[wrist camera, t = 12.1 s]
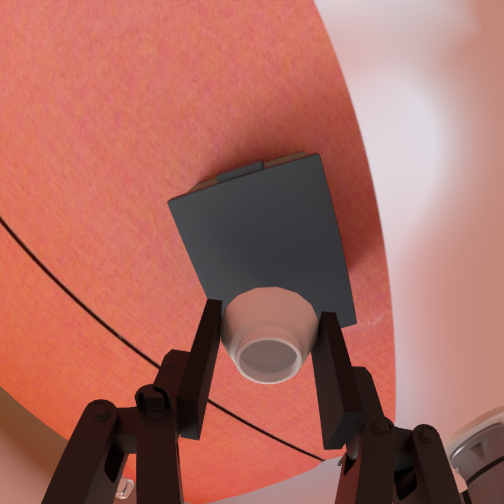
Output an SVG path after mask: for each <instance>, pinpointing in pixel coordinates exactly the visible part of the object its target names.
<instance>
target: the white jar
mask: <svg viewBox="0 0 504 504" xmlns="http://www.w3.org/2000/svg"><path fill="white" fill-rule="evenodd" d="M318 331H319V321H318V318H317V316H316V314H315V312H314V309H313V307H312V305H311V304H310V303H309V302H307V301H306V300H305V299H304V298H303V297H301V296H300V295H299V294H298V293H295V292H292V291H289V290H286V289H283V288H279V287H264V288H255V289H252V290H250V291H247V292H245V293H242V294H240V295H238V296H237V297H236V298H235V299H234V300H233V301H232V302H231V303H230V304H229V305H228V306H227V307H226V308H225V310H224V313H223V316H222V319H221V322H220V335H221V341H222V343H223V345H224V347H225V349H226V350H227V352H228V354H229V356H230V357H231V359H232V360H233V361H234V363H235V364H236V366H237V369H238V370H239V372H240V373H241V374H242V375H243V376H244V377H246V378H247V379H249V380H251V381H253V382H257V383H261V384H277V383H281V382H284V381H286V380H289V379H290V378H292V377H293V376H294V375H296V374H297V372H298V371H299V370H300V368H301V366H302V365H303V363H304V361H305V360H306V358H307V356H308V355H309V353H310V351H311V350H312V348H313V346H314V345H315V343H316V341H317V339H318Z"/></svg>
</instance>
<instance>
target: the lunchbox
mask: <svg viewBox="0 0 504 504" xmlns="http://www.w3.org/2000/svg"><path fill="white" fill-rule="evenodd" d="M167 203H168V206H169V208H170V211H171V213H172V216H173V218H174V221H175V223H176V226H177V228H178V231H179V233H180V235H181V238H182V240H183V243H184V245H185V248H186V250H187V252H188V255H189V257H190V259H191V262H192V264H193V266H194V269H195V271H196V273H197V276H198V278H199V280H200V283H201V285H202V287H203V289H204V292H205V294H206V296H207V298H208V299H215V300H222V316H223V313H224V310H225V308H226V307H227V306H228V305H229V304H230V303H231V302H232V301H233V300H234V299H235V298H236V297H237V296H238V295H240V294H242V293H245V292H247V291H250V290H252V289H255V288H264V287H279V288H283V289H286V290H289V291H292V292H295V293H298V294H299V295H300V296H301V297H303V298H304V299H305V300H306V301H307V302H309V303H310V304H311V305H312V307H313V309H314V312H315V314H316V316H317V318H318V321H319V320H320V316H321V312H322V311H326V312H336V315H337V318H338V321H339V324H340V328H344V327H347V326H351V325H354V324H357V320H356V314H355V308H354V302H353V297H352V291H351V286H350V281H349V276H348V270H347V265H346V261H345V256H344V251H343V246H342V242H341V237H340V233H339V228H338V224H337V220H336V216H335V211H334V207H333V203H332V199H331V195H330V191H329V188H328V184H327V180H326V176H325V173H324V169H323V165H322V162H321V158H320V155H319V154H318V153H314V154H310V155H308V154H307V153H306V152H304V151H303V152H299V153H296V154H292V155H288V156H285V157H281V158H278V159H275V160H271V161H268V162H264V163H263V159H259V160H256V161H252V162H249V163H246V164H243V165H240V166H237V167H233V168H230V169H227V170H224V171H221V172H220V173H219V174H218V175H217V176H216V178H214V179H211V180H208V181H205V182H203V183H200V184H197V185H195V186H194V187H193V188H191V189H190V190H189V191H188V192H187V193H185V194H182V195H179V196H177V197H174V198H171V199H170V200H169V201H168V202H167ZM222 316H221V319H222Z"/></svg>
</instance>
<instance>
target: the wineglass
mask: <svg viewBox="0 0 504 504" xmlns="http://www.w3.org/2000/svg"><path fill="white" fill-rule="evenodd" d="M127 461H128V458H127ZM127 461H126V462H127ZM135 480H136V476H135V473H134V471H133V470H132V469H131V468H130V467H129V466H128V465H126V464H125V467H124V470H123V473H122V476H121V480H120V483H119V486H118V489H117V492H116V495H115V497H117V498H121V499H126V498H127V497H128V496H129V494H130V492H131V491H132V489H133V487H134V485H135Z"/></svg>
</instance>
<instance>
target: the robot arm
mask: <svg viewBox="0 0 504 504" xmlns="http://www.w3.org/2000/svg"><path fill="white" fill-rule="evenodd" d="M221 316H222V300H215V299H207V302H206V305H205V308H204V311H203V314H202V317H201V320H200V323H199V327H198V330H197V333H196V336H195V339H194V342H193V345H192V348H191V351H190V352H186V351H180V350H174V349H172V350H171V351H170V352H168V353H167V354H166V355H165V356H164V359H163V361H162V364H161V366H160V369H159V372H158V374H157V376H156V379H155V381H154V384H148V385H145V386H143V387H141V388H140V389H139V390H138V391H137V392H136V394H135V401H136V405H137V406H136V407H130V408H116V406H115V405H114V404H113V403H112V402H110V401H108V400H103V399H99V400H94V401H92V402H91V403H89V404H88V405H87V406H86V408H85V410H84V412H83V414H82V416H81V418H80V420H79V422H78V424H77V426H76V428H75V430H74V432H73V434H72V436H71V438H70V440H69V442H68V444H67V446H66V448H65V451H64V453H63V455H62V457H61V459H60V461H59V463H58V466H57V468H56V470H55V472H54V475H53V477H52V479H51V482H50V484H49V486H48V488H47V491H46V493H45V496H44V498H43V501H42V503H41V504H113V502H114V499H115V495H116V492H117V489H118V486H119V483H120V480H121V476H122V473H123V470H124V467H125V464H126V461H127V458H128V455H129V454H136V492H137V504H184V498H183V489H182V479H181V469H180V458H179V446H178V438H179V434H180V435H181V437H183V438H189V439H194V440H199V439H200V434H201V429H202V424H203V419H204V415H205V410H206V405H207V400H208V395H209V391H210V386H211V381H212V376H213V372H214V367H215V362H216V358H217V353H218V348H219V344H220V322H221ZM311 355H312V362H313V368H314V375H315V383H316V390H317V397H318V405H319V413H320V421H321V429H322V438H323V446H324V450H333V449H342V447H343V446H344V444H345V443H346V449H347V451H346V452H345V454H344V455H343V457H342V458H341V460H340V461H339V463H338V466H340V465H341V464H342V467H341V473H340V479H339V484H338V489H337V494H336V499H335V504H392V502H393V504H504V425H503V424H502V423H496V424H493V425H490V426H488V427H486V428H484V429H482V430H480V431H479V432H477V433H475V434H474V435H472V436H471V437H469V438H468V439H467V440H465V441H464V442H463V443H462V444H460V445H459V446H458V447H457V448H456V449H455V450H454V451H453V452H452V454H451V455H450V457H449V460H450V463H451V465H452V467H453V468H454V469H456V471H455V472H456V473H457V474H458V473H459V474H460V475H461V476H462V477H463V479H464V480H465V482H466V484H467V487H468V489H467V490H465V491H463V492H462V493H460V494H459V492H458V489H457V485H456V482H455V479H454V476H453V473H452V469H451V466H450V464H449V461H448V458H447V455H446V452H445V449H444V446H443V444H442V441H441V438H440V435H439V433H438V432H437V430H436V429H435V428H434V427H432V426H430V425H427V424H421V425H418V426H417V427H415V428H414V430H408V429H402V428H398V427H395V426H394V424H393V423H392V421H391V420H390V419H388V418H387V417H385V416H384V414H383V410H382V407H381V404H380V401H379V397H378V394H377V391H376V388H375V385H374V382H373V379H372V376H371V374H370V373H369V371H368V370H367V369H366V368H365V367H352V365H351V362H350V358H349V355H348V351H347V348H346V344H345V341H344V338H343V334H342V331H341V328H340V324H339V321H338V318H337V315H336V312H326V311H322V312H321V316H320V320H319V331H318V339H317V341H316V343H315V345H314V346H313V348H312V350H311Z"/></svg>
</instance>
